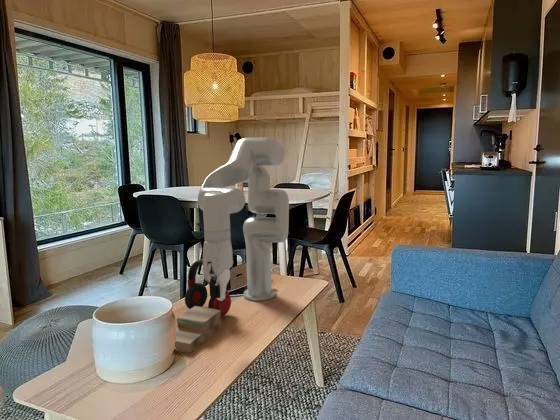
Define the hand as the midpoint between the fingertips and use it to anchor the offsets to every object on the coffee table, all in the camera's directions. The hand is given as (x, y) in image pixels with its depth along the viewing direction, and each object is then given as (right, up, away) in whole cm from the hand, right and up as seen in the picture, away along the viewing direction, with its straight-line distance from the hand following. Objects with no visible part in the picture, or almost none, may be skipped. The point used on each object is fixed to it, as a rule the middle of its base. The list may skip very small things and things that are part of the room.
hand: (220, 292), depth 121 cm
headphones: (-8, -13, +25) cm, 29 cm away
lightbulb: (0, -3, +1) cm, 3 cm away
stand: (-10, -15, +7) cm, 20 cm away
